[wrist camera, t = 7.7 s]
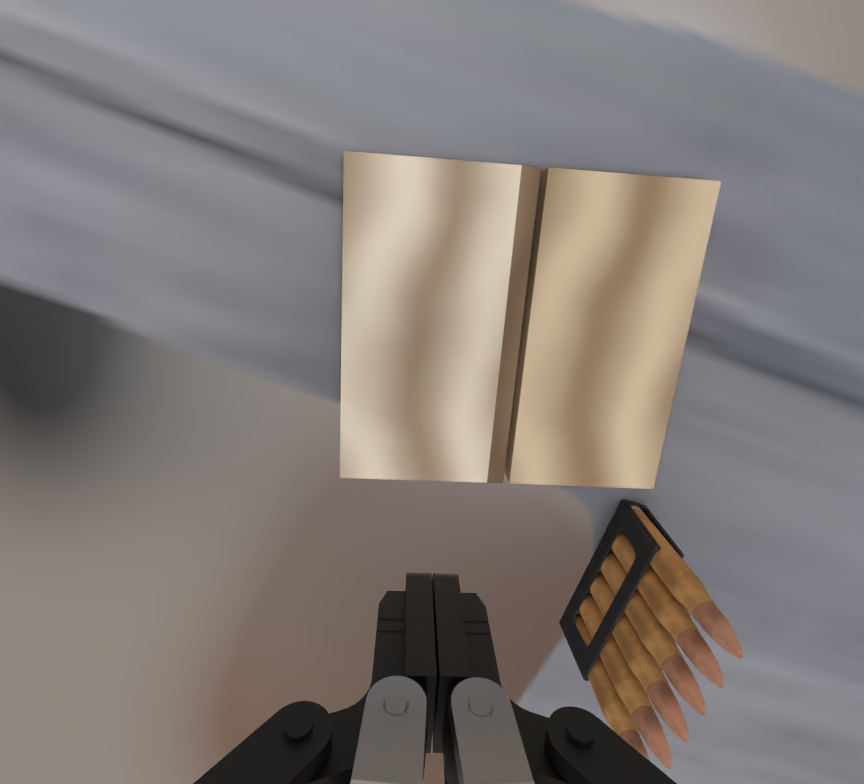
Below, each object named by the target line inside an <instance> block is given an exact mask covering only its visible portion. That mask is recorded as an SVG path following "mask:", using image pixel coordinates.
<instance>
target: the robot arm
mask: <svg viewBox="0 0 864 784" xmlns="http://www.w3.org/2000/svg"><path fill="white" fill-rule="evenodd" d="M432 735H433V752H434V753H443V759H444V776H443V784H676V783H675V782H674V781H673V780H672V779H670V778H669V777H668V776H667V775H666V774H664V773H663V772H662V771H661V770H660V769H658V768H657V767H656V766H655V765H654V764H652V763H651V762H650V761H649V760H648V759H646V758H645V757H644V756H643V755H642V754H640V753H639V752H638V751H637V750H636V749H634V748H633V747H632V746H631V745H630V744H628V743H627V742H626V741H625V740H624V739H622V738H621V737H620V736H619V735H618V734H617V733H615V732H614V731H613V730H612V729H611V728H609V727H608V726H607V725H606V724H605V723H603V722H602V721H601V720H600V719H599V718H597V717H596V716H595V715H593V714H592V713H590V712H588V711H586V710H584V709H581V708H577V707H563V708H560V709H557V710H556V711H555V712H553V713H552V715H551V716H550V718H547V717H544V716H541V715H538V714H535V713H532V712H529V711H527V710H525V709H523V708H521V707H519V706H518V705H516V704H515V703H514V702H513V701H511V700H510V698H509V697H508V695H507V693H506V692H505V691H504V689H502V686H501V683H500V678H499V673H498V668H497V663H496V658H495V652H494V647H493V642H492V638H491V632H490V627H489V624H488V617H487V612H486V607H485V605H484V604H483V602H482V601H481V600H480V598H479V597H478V596H477V594H476V593H460V585H459V578H458V575H457V574H435V573H434V574H433V576H432V577H431V573H407V574H406V590H405V591H387V593H386V594H385V596H384V597H383V599H382V600H381V602H380V603H379V610H378V621H377V633H376V642H375V653H374V663H373V674H372V682H371V685H370V688H369V690H368V692H367V693H366V694H365V696H364V697H363V698H362V699H361V700H360V701H359V702H357V703H356V704H354V705H353V706H351V707H349V708H346V709H343V710H340V711H337V712H333V713H330V714H329V713H328V712H327V710H326V709H325V708H324V707H322V706H321V705H319V704H317V703H315V702H310V701H300V702H295V703H292V704H289V705H287V706H285V707H283V708H282V709H281V710H279V711H278V712H277V713H275V714H274V715H273V716H272V717H271V718H270V719H268V720H267V721H266V722H265V723H264V724H263V725H261V726H260V727H259V728H258V729H257V730H255V731H254V732H253V733H252V734H251V735H250V736H249V737H247V738H246V739H245V740H244V741H243V742H241V744H239V745H238V746H237V747H236V748H234V749H233V750H232V751H231V752H230V753H229V754H227V755H226V756H225V757H224V758H223V759H222V760H220V761H219V762H218V763H217V764H216V765H215V766H214V767H212V768H211V769H210V770H209V771H208V772H206V773H205V774H204V775H203V776H202V777H201V778H199V779H198V780H197V781H196V782H195V783H193V784H422V782H423V778H424V768H425V756H426V753H430V751H431V740H432V739H431V738H432Z"/></svg>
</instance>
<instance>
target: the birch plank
mask: <svg viewBox="0 0 864 784" xmlns="http://www.w3.org/2000/svg"><path fill="white" fill-rule="evenodd" d="M540 172H541V167H537V166H525V165H512V164H500V163H487V162H475V161H463V160H451V159H438V158H426V157H414V156H401V155H389V154H377V153H365V152H352V151H344V175H343V256H342V337H341V420H340V421H341V422H340V423H341V424H340V425H341V426H340V427H341V428H340V478H364V479H394V480H427V481H456V482H486V483H503V479H504V471H505V462H506V454H507V446H508V438H509V429H510V421H511V413H512V404H513V396H514V388H515V379H516V371H517V363H518V354H519V346H520V338H521V330H522V321H523V313H524V305H525V296H526V288H527V280H528V271H529V263H530V255H531V247H532V238H533V230H534V222H535V213H536V205H537V197H538V188H539V180H540Z"/></svg>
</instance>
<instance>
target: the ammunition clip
mask: <svg viewBox="0 0 864 784" xmlns="http://www.w3.org/2000/svg"><path fill="white" fill-rule="evenodd" d="M683 557H684V554H683V553H682V552H681V550H680V549H679V548H678V547H677V545H676V544H675V543H674V541H673V540H672V539H671V538H670V536H669V535H668V534H667V532H666V531H665V530H664V529H663V527H662V526H661V525H660V523H659V522H658V521H657V520H656V518H655V517H654V516H653V514H652V513H651V512H650V511H649V509H648V508H647V507H646V506H643V505H639V504H636V503H633V502H630V501H626V500H623V501H621V502H620V504H619V506H618V508H617V510H616V512H615V514H614V516H613V517H612V519H611V521H610V523H609V525H608V527H607V529H606V531H605V533H604V535H603V537H602V539H601V541H600V543H599V545H598V547H597V549H596V551H595V553H594V555H593V557H592V559H591V561H590V563H589V565H588V566H587V568H586V571H585V573H584V574H583V576H582V578H581V580H580V582H579V584H578V586H577V588H576V590H575V592H574V594H573V596H572V598H571V600H570V602H569V604H568V606H567V608H566V610H565V612H564V614H563V616H562V618H561V620H560V622H559V623H560V625H561V628H562V630H563V632H564V635H565V637H566V639H567V642H568V644H569V646H570V649H571V651H572V653H573V656H574V658H575V660H576V663H577V665H578V667H579V670H580V672H581V674H582V677H583V679H584V680H586V681H588V680H589V681H590V683H591V685H592V688H593V690H594V693H595V695H596V698H597V700H598V702H599V705H600V707H601V710H602V712H603V715H604V717H605V719H606V720H607V722H608V723H609V725H610V726H611V728H612V730H613V731H614V732H615V733H617V734H618V735H619V736H620V737H621V738H622V739H624V740H625V741H626V742H627V743H628V744H630V745H631V746H632V747H633V748H634V749H636V750H637V751H638V752H639V753H640V754H642V755H643V756H644V757H645V758H646V759H648V760H649V758H648V755H647V752H646V749H645V746H644V744H643V742H642V740H641V737H640V734H639V732H640V733H641V735H642V737H643V739H644V740H645V742H646V744H647V745H648V747H649V748H650V749H651V751H652V752H653V754H654V755H655V756H656V757H657V759H658V760H659V761H660V762H661V763H662V764H663V765H664V766H665V767H667V768H669V769H670V768H671V755H670V751H669V747H668V743H667V740H666V737H665V734H664V732H663V729H662V727H661V724H660V722H659V720H658V718H657V716H656V714H655V712H654V708H653V706H652V704H651V702H650V700H649V698H648V695H649V697H650V699H651V701H652V703H653V705H654V706H655V708H656V710H657V711H658V713H659V714H660V716H661V717H662V719H663V720H664V721H665V723H666V724H667V725H668V726H669V727H670V729H671V730H672V731H673V732H674V733H675V734H676V735H677V736H678V737H679V738H680V739H681V740H683V741H684V742H688V740H689V739H688V730H687V726H686V723H685V719H684V716H683V713H682V711H681V708H680V706H679V704H678V702H677V699H676V697H675V695H674V694H673V692H672V690H671V688H670V686H669V683H668V681H667V679H666V678H665V676H664V674H663V672H662V670H663V671H664V672H665V674H666V676H667V677H668V679H669V680H670V682H671V683H672V685H673V686H674V687H675V689H676V690H677V692H678V693H679V694H680V695H681V696H682V698H683V699H684V700H685V701H686V702H687V703H688V704H689V705H690V706H691V707H692V708H693V709H694V710H695V711H697V712H698V713H699V714H701V715H705V714H706V708H705V703H704V700H703V697H702V694H701V691H700V688H699V686H698V684H697V682H696V680H695V678H694V676H693V674H692V672H691V670H690V668H689V667H688V665H687V664H686V662H685V660H684V658H683V656H682V654H681V653H680V651H679V649H678V647H677V645H676V643H675V641H676V642H677V644H678V645H679V646H680V647H681V648H682V650H683V651H684V653H685V654H686V656H687V657H688V658H689V659H690V661H691V662H692V663H693V664H694V665H695V667H696V668H697V669H698V670H699V671H700V672H701V673H702V674H703V675H704V676H705V677H706V678H707V679H709V680H710V681H711V682H712V683H714V684H715V685H717V686H719V687H721V688H722V687H724V680H723V676H722V673H721V670H720V667H719V665H718V663H717V660H716V658H715V656H714V655H713V653H712V651H711V649H710V648H709V646H708V644H707V643H706V641H705V640H704V639H703V637H702V636H701V634H700V632H699V630H698V629H697V627H696V626H695V624H694V623H693V621H692V619H691V617H690V615H689V612H690V613H691V615H692V616H693V617H694V618H695V619H696V620H697V621H698V623H699V624H700V625H701V626H702V628H703V629H704V630H705V631H706V632H707V633H708V634H709V635H710V636H711V638H712V639H713V640H714V641H715V642H716V643H718V644H719V645H720V646H721V647H722V648H723V649H725V650H726V651H727V652H729V653H730V654H732V655H733V656H735V657H737V658H743V652H742V648H741V645H740V643H739V641H738V638H737V636H736V634H735V632H734V631H733V629H732V627H731V626H730V624H729V623H728V621H727V619H726V618H725V617H724V615H723V614H722V613H721V612H720V610H719V609H718V608H717V606H716V604H715V603H714V602H713V600H712V599H711V598H710V596H709V595H708V593H707V591H706V589H705V587H704V585H703V584H702V582H701V581H700V580H699V579H698V577H697V576H696V575H695V574H694V573H693V571H692V570H691V569H690V568H689V567H688V565H687V564H686V563H685V562H684V561H683V559H682V558H683ZM688 611H689V612H688ZM661 668H662V669H661ZM588 678H589V679H588ZM647 694H648V695H647ZM634 721H635V722H634ZM636 726H637V727H636ZM637 728H638V729H637ZM638 730H639V731H638Z"/></svg>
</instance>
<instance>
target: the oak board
mask: <svg viewBox="0 0 864 784" xmlns="http://www.w3.org/2000/svg"><path fill="white" fill-rule="evenodd" d="M720 185H721V181H713V180H701V179H688V178H675V177H663V176H650V175H637V174H625V173H612V172H600V171H587V170H574V169H562V168H547V169H545V170H543V171H541V178H540V186H539V194H538V203H537V211H536V219H535V227H534V236H533V244H532V252H531V260H530V269H529V277H528V285H527V294H526V302H525V310H524V318H523V327H522V335H521V343H520V352H519V360H518V368H517V376H516V385H515V393H514V401H513V409H512V418H511V426H510V434H509V443H508V451H507V459H506V467H505V474H506V476H507V478H508V481H509V483H516V484H540V485H566V486H591V487H617V488H642V489H653V488H654V484H655V479H656V475H657V470H658V466H659V461H660V457H661V452H662V448H663V443H664V438H665V434H666V429H667V425H668V420H669V416H670V411H671V407H672V402H673V398H674V393H675V389H676V384H677V380H678V375H679V371H680V366H681V361H682V357H683V352H684V348H685V343H686V339H687V334H688V330H689V325H690V321H691V316H692V312H693V307H694V303H695V298H696V294H697V289H698V285H699V280H700V275H701V271H702V266H703V262H704V257H705V253H706V248H707V244H708V239H709V235H710V230H711V226H712V221H713V217H714V212H715V208H716V203H717V198H718V194H719V189H720Z"/></svg>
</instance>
